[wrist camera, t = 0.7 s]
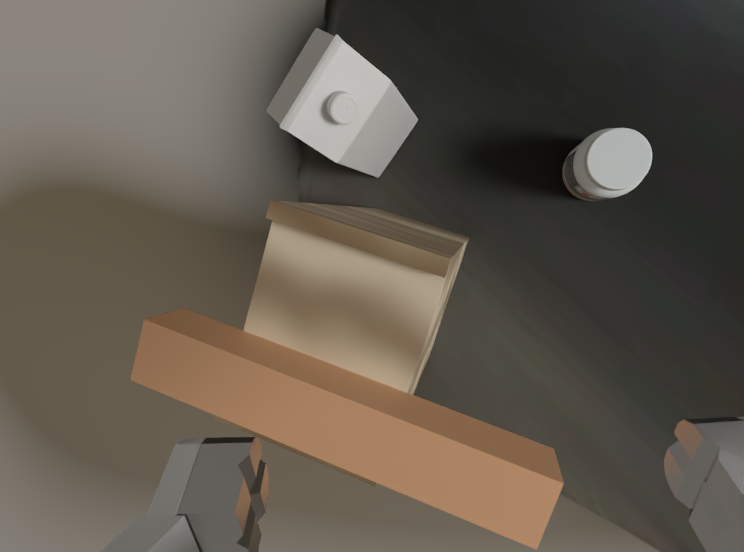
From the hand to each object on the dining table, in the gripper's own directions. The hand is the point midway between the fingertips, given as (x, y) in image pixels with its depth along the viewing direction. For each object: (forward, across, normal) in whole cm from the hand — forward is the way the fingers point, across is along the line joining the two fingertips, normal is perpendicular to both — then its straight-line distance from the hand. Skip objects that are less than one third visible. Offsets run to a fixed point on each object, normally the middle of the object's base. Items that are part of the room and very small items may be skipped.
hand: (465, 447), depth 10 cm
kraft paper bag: (+38, 0, +21) cm, 43 cm away
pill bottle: (+39, -19, +10) cm, 45 cm away
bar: (+13, +4, +13) cm, 19 cm away
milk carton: (+46, +2, +7) cm, 46 cm away
